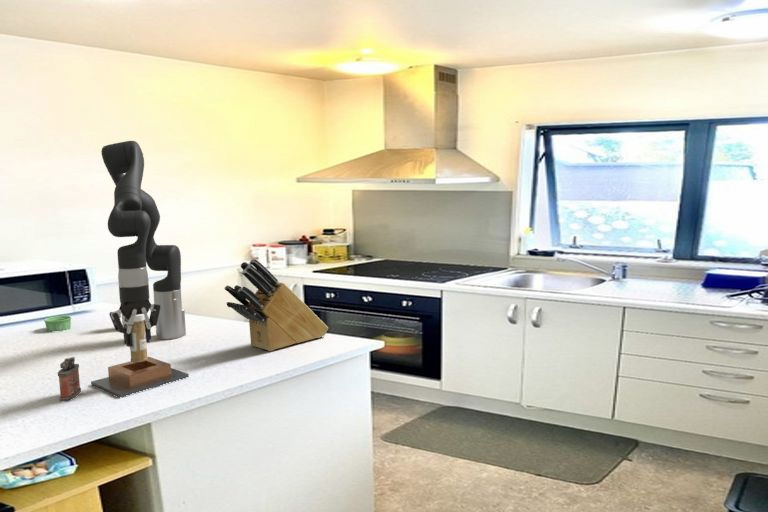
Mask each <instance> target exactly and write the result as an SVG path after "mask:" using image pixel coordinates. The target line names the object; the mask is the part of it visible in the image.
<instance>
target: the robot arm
mask: <svg viewBox="0 0 768 512" xmlns="http://www.w3.org/2000/svg"><path fill="white" fill-rule="evenodd" d="M100 153H101V157H102V161H103V163H104V166H105V168H106V171H107V173H109V176H110V177H111V180H112V182H113V183H114V185H115V186H114V193H113V196H114V197H113V200H114V201H113V202H114V204H113V208H112V209H111V211H110V214H109V216H108V218H107V229H108V232H109V233H110V235H112V236H113V237H116V238H130V237H132V238H133V237H137V238H136V241H134V242H133V243H130V244H126V245H122V246H120V247H118V249H117V267H118V275H117V277H118V278H117V279H118V293H119V302H120V305H119V308H118V310H116V311H110V312H109V314H108V315H109V317H110V319H111V322H112V325H113V327H114V330H115V331H116V332H118V333H120V334H123V344H124V345H126V347H128V348H130V347H131V346H132V333H131V329H132V326H133V324H134V316H135V315H137V314H141V313H142V314H144V316H145V320H144V321H145V332H146V343H147V344H148V343H150V341H151V339H152V334H151V333H152V332H151V329H152V328H153V327H155V333H156V336H155V337H156V339H158V340H173V339H178V338H182V337H183V336H186V335H187V331H186V330H187V329H186V316H185V315H186V312H185V309H184V308H183V304H182V303H183V301H182V288H181V287H182V286H181V285H182V284H181V283H182V266H181V265H182V258H181V257H182V255H181V250H180V248H179V246H177V245H174V244H157V243H156V241H155V234H156V231H157V229H158V227H159V224H160V221H161V214H160V212H159V209H158V205H157V203H156V201H155V200H154V198H153V197H152V196H151V194H149V193H148V192H146V191H145V190H144V189H142V188H141V187H142V181H143V177H144V168H145V157H144V154H143V150H142V148H141V146H140V145H139V143H138V142H137V141H135V140H126V141H121V142H117V143H115V142H114V143H111V144H107V145H104V146H103V147H102V148H101V151H100ZM147 266H148V268H149V269H150V270H152V271H155V272H167V276H166V277H164V278H162V279H160V280H156V281H155V282H153V284H152V290H153V303H151V302H150V287H149V286H150V285H149V282H150V281H149V273H148V268H147ZM149 311H150V313H149ZM148 313H149V315H148ZM122 315H123V316H124V320H123V324H124V325H123V324H122ZM132 317H133V318H132ZM127 320H129V322H128V321H127Z"/></svg>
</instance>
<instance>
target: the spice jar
mask: <svg viewBox="0 0 768 512" xmlns="http://www.w3.org/2000/svg"><path fill="white" fill-rule="evenodd" d="M132 318H133V317H132ZM144 320H145V316H144V314H142V313H141V314H137V315H135V316H134V324H133V326H132V329H131V333H132V346H131V347H129V350H130V351H129V352H130V361H131V362H134V363H139V362H144V361H146V360H147V359H148V357H149V356H148V343H146V332H145V321H144ZM127 321H128V322H129V320H127Z"/></svg>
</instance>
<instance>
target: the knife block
mask: <svg viewBox="0 0 768 512" xmlns="http://www.w3.org/2000/svg"><path fill="white" fill-rule="evenodd" d="M240 268H241V269H242V272H241V275H243V276H244V277H245V278H246V279H247V280H248V281H249V282H250V283H251V285H253V286H254V287H255V288H256V289H257V290H256V292H253V291H252V290H251V289H249V288H248V287H246V286H243V287H242V286H240V285H234V287H232V286H230V285H225V286H224V289H223V290H225V291H226V292H228V293H229V294H230V296H232V297H233V298H234V299H235V300H236V301H238V302H239V303H236V302H232V301H230V302H226V306H227V307H228V308H231V309H232V310H234V311H235V312H236V313H237V314H239V315H241V316H242V317H244V318H245V319H247V320H248V322H249V323H248V325H249V337H250V345H251V346H253V347H256V348H259V349H263V350H266V351H268V352H273V351H274V350H277V349H281V348H285V347H288V346H291V345H294V344H298V343H302V342H303V343H304V342H306V341H309V340H314V339H320V338H321V337H324V336H326V334H327V331H328V330H329V326H327V325H326V323H325V322H324V321H323V320H321V319H320V317H318V315H317V314H315V313H314V311H313V310H312V309H311V308H310V307H309V305H307V304H306V303H305V302H304V301H302V299H301V298H300V297H298V295H297V294H296V293H295V292H294V291H293V290H292V289H291V288H290V287H289V286H287V284H286V283H284V282H280V281H279V280H278V279H277V278H276V277H275V276H274V275H273V274H272V273H271V271H269V270H268V269H267V268H266V267H265V265H263V264H262V263H261V262H260V261H259V260H257V259H255V258H252V259H251V260H250V261H249V263H247V261H243V262H242V263H241V264H240Z"/></svg>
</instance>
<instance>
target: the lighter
mask: <svg viewBox="0 0 768 512" xmlns="http://www.w3.org/2000/svg"><path fill="white" fill-rule="evenodd" d="M75 360H76V359H75V357H67V358H64V360H63V361H62V362H61V363H60V364H59V366H60V370H58V371H57V376H58V382H59V394H60V396H59V401H60V402H61V401H66V402H70V401H72V400H74V399H75V398H77V397H78V396H80V394H81V393H80V392H82V388H81V383H80V382H81V381H80V371H79V368H80V364H79V363H75V362H76V361H75ZM79 393H80V394H79ZM77 395H78V396H77ZM76 396H77V397H76ZM73 398H74V399H73ZM71 399H72V400H71ZM69 400H70V401H69Z"/></svg>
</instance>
